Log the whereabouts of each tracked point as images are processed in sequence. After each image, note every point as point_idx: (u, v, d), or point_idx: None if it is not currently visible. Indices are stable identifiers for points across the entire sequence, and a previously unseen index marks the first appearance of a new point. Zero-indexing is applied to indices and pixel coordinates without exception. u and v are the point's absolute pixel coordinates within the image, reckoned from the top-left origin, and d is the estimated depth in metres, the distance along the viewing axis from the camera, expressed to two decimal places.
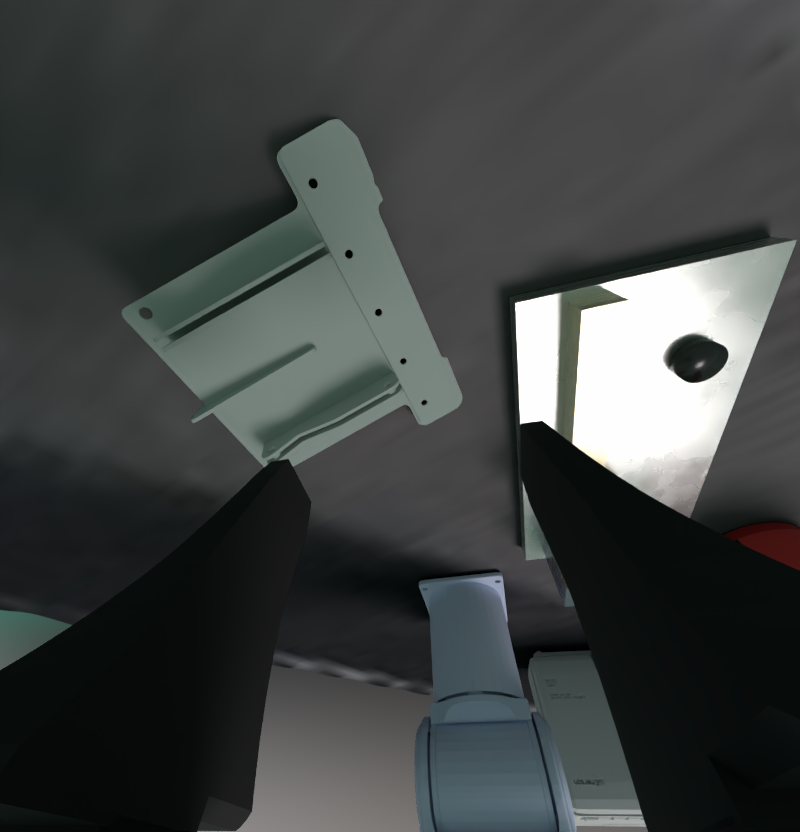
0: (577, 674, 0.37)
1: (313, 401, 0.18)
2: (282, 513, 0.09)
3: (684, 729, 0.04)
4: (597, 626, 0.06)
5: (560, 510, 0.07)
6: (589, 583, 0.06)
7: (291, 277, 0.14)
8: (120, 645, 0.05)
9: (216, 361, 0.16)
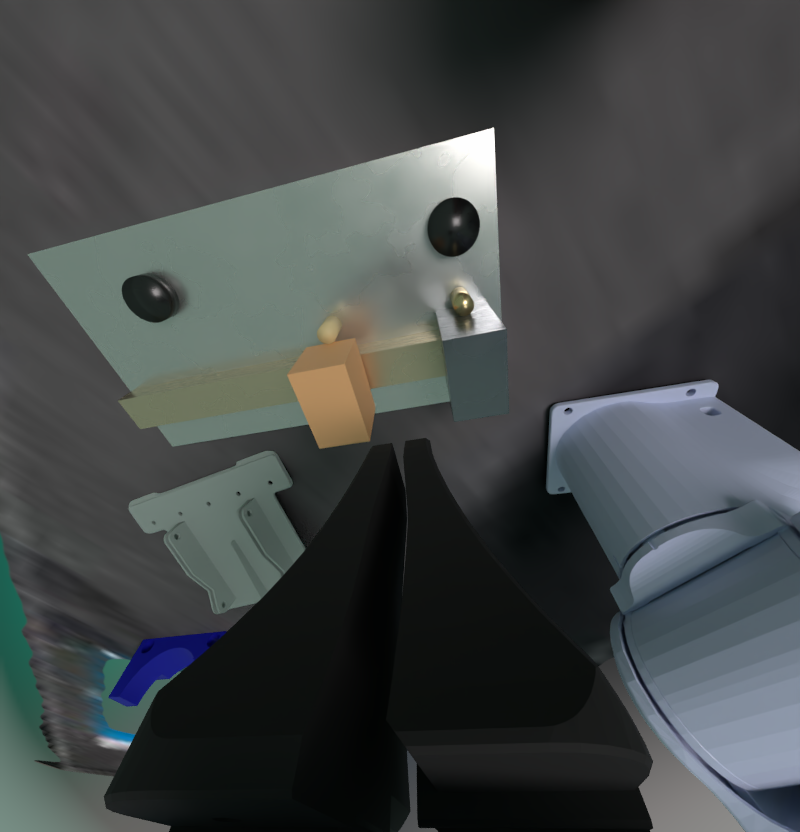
0: None
1: None
2: (395, 499, 0.09)
3: None
4: None
5: None
6: None
7: (180, 555, 0.26)
8: (328, 629, 0.04)
9: (244, 586, 0.28)
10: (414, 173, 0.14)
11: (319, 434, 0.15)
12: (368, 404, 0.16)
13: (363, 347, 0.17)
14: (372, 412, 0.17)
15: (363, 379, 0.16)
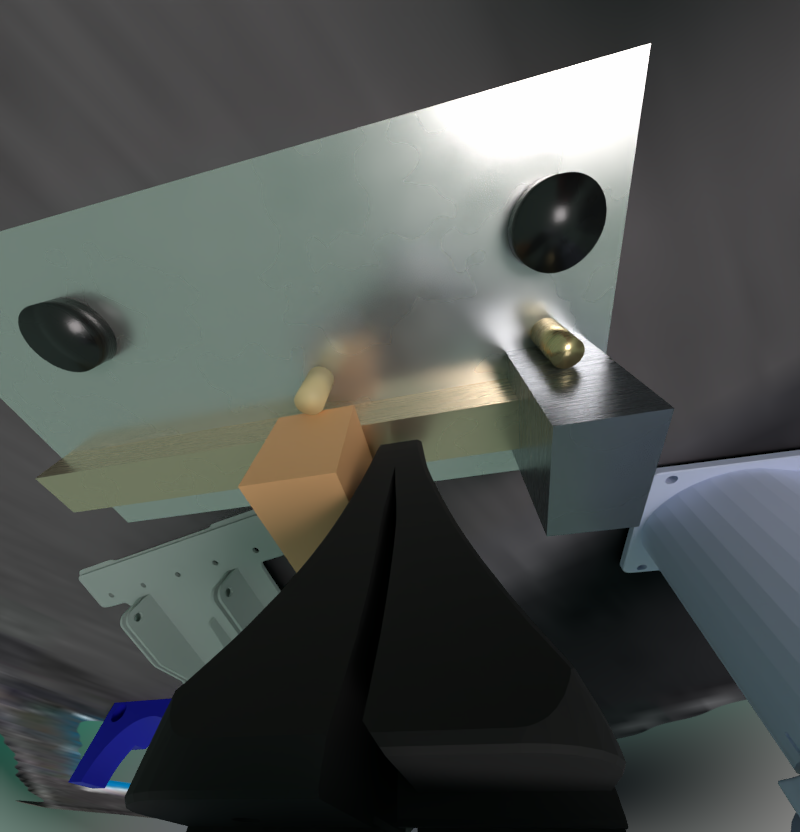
0: None
1: None
2: None
3: None
4: None
5: None
6: None
7: (142, 642, 0.20)
8: (345, 628, 0.04)
9: None
10: (497, 131, 0.08)
11: (298, 561, 0.10)
12: None
13: (394, 405, 0.11)
14: None
15: (366, 466, 0.10)
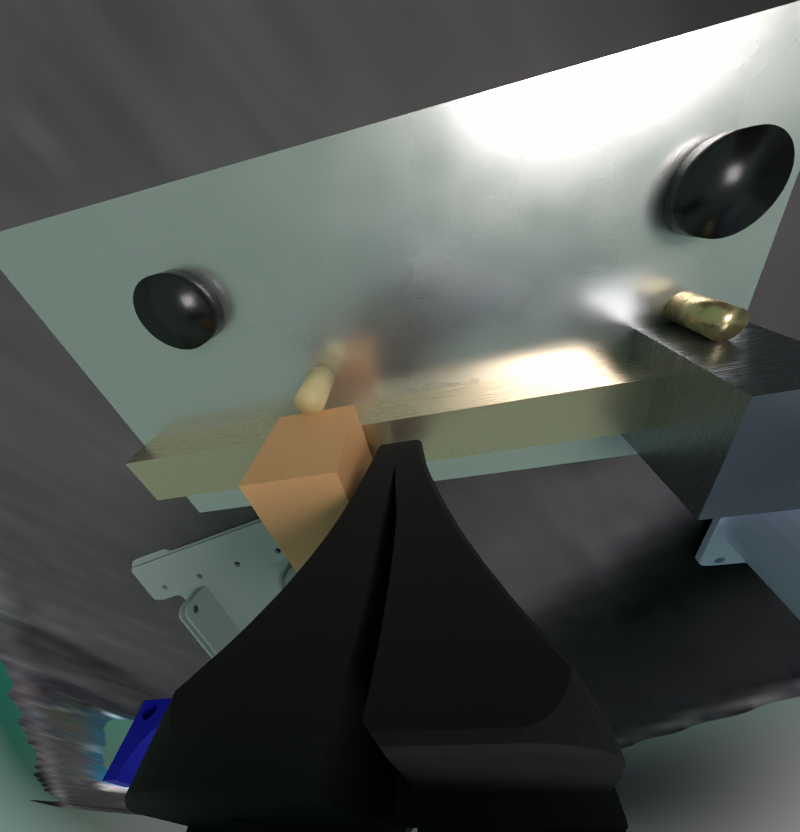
0: None
1: None
2: None
3: None
4: None
5: None
6: None
7: (201, 634, 0.19)
8: (346, 628, 0.04)
9: None
10: (679, 83, 0.07)
11: (298, 560, 0.10)
12: None
13: (510, 386, 0.11)
14: None
15: (367, 465, 0.10)
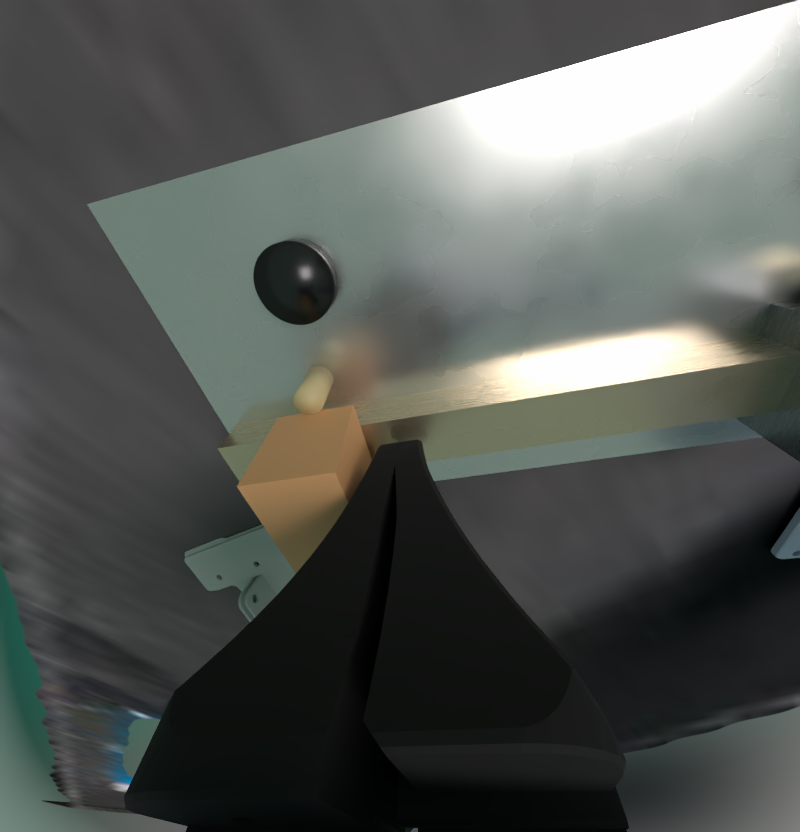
0: None
1: None
2: None
3: None
4: None
5: None
6: None
7: None
8: (345, 628, 0.04)
9: None
10: None
11: (297, 561, 0.10)
12: None
13: (632, 365, 0.10)
14: None
15: (366, 466, 0.10)
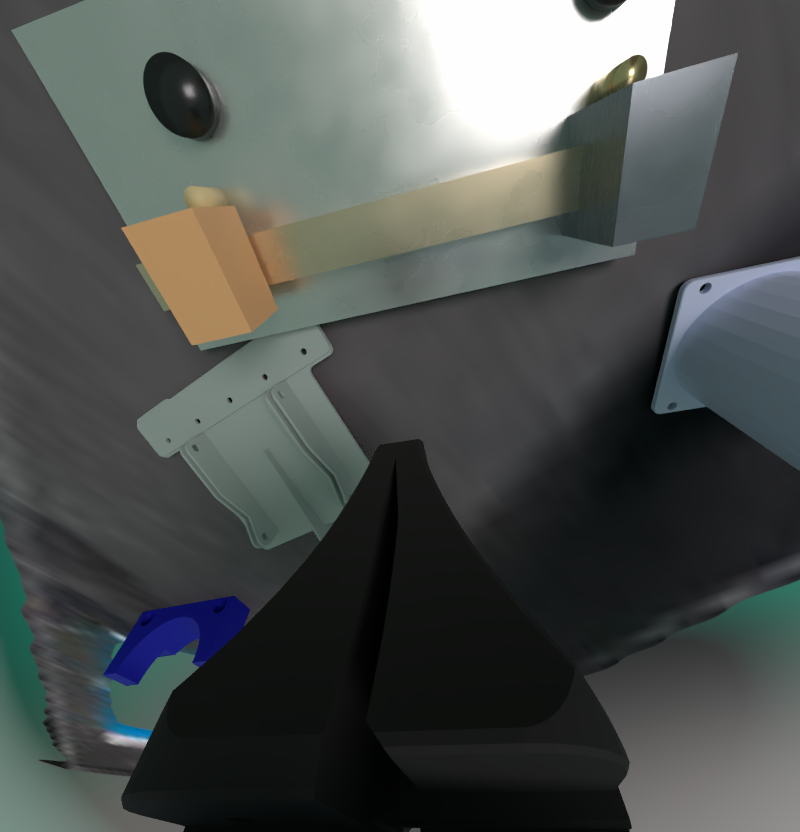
0: None
1: None
2: None
3: None
4: None
5: None
6: None
7: (202, 470, 0.20)
8: (343, 628, 0.04)
9: (287, 512, 0.22)
10: None
11: (186, 323, 0.12)
12: (257, 294, 0.13)
13: None
14: (267, 309, 0.14)
15: (249, 261, 0.13)
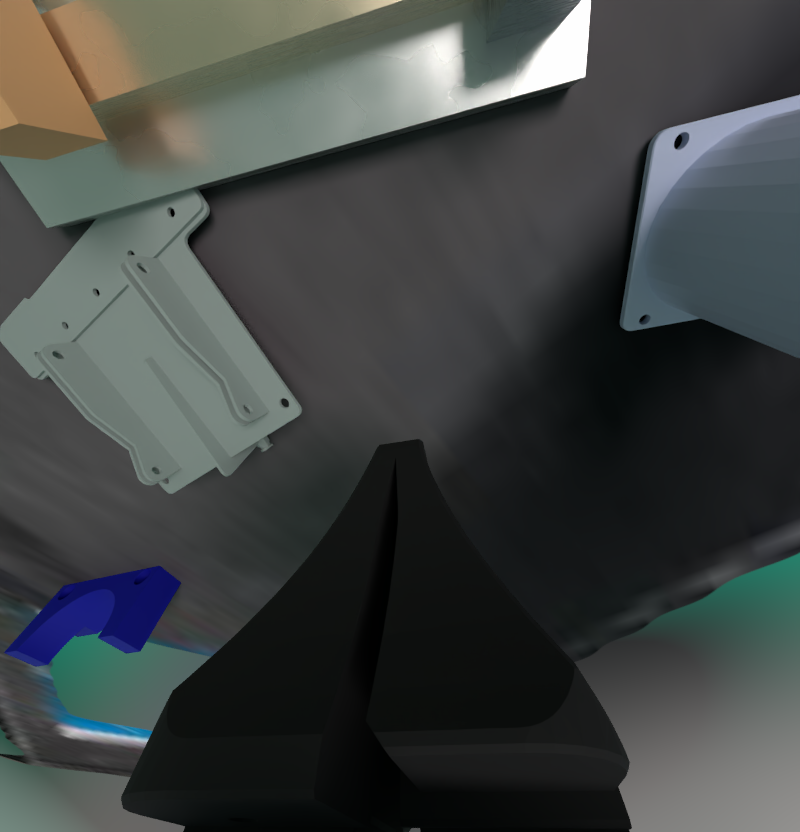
0: None
1: None
2: None
3: None
4: None
5: None
6: None
7: (64, 381, 0.16)
8: (343, 628, 0.04)
9: (186, 443, 0.18)
10: None
11: None
12: (51, 91, 0.09)
13: None
14: (77, 124, 0.10)
15: (35, 41, 0.09)
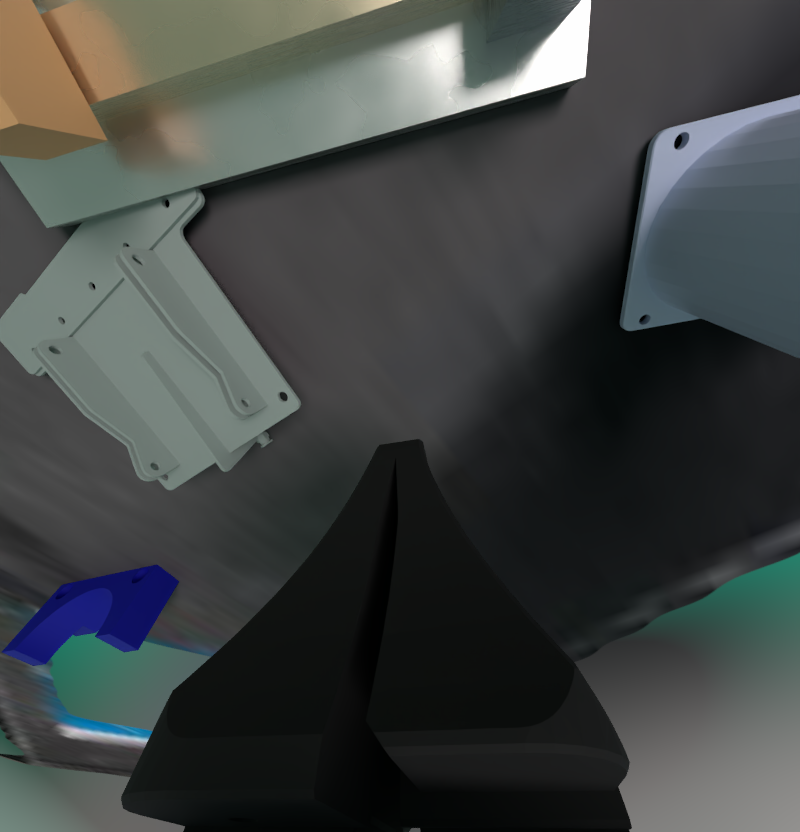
0: None
1: None
2: None
3: None
4: None
5: None
6: None
7: (61, 376, 0.16)
8: (343, 628, 0.04)
9: (185, 439, 0.18)
10: None
11: None
12: (51, 91, 0.09)
13: None
14: (77, 124, 0.10)
15: (35, 41, 0.09)
